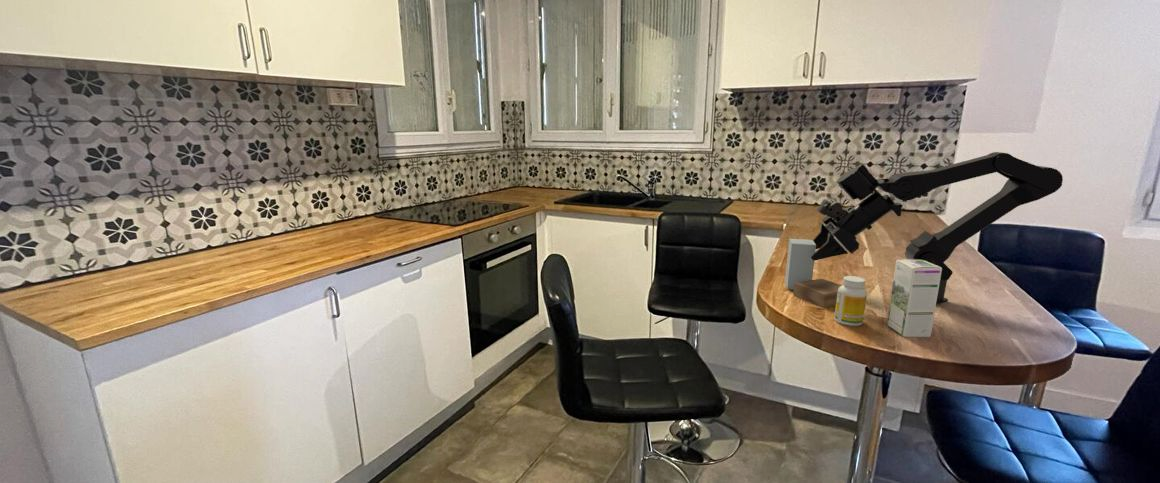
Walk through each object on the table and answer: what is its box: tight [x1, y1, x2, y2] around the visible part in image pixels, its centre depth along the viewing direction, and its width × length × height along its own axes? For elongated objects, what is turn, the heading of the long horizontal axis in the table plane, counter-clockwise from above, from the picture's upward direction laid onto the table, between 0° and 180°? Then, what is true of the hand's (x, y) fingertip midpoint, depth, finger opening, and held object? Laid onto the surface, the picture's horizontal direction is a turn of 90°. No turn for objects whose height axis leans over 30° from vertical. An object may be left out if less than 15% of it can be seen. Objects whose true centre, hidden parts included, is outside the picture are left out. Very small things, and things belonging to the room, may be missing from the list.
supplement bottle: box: [833, 275, 868, 327], centre depth 103 cm, size 5×5×10 cm
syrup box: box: [886, 258, 942, 338], centre depth 97 cm, size 6×6×14 cm
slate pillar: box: [784, 238, 817, 291], centre depth 125 cm, size 6×6×12 cm
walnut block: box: [792, 278, 843, 308], centre depth 117 cm, size 9×9×4 cm
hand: (809, 254), depth 123 cm, fingers open, 9 cm apart
